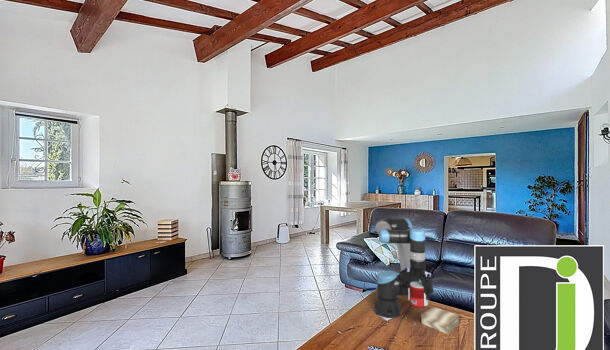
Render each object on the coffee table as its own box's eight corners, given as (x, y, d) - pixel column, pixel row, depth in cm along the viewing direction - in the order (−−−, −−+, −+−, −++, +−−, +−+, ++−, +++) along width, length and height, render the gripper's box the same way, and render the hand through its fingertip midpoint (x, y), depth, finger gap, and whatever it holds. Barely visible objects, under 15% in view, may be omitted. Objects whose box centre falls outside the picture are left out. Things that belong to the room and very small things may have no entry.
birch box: (421, 323, 155) (421, 314, 155) (433, 315, 164) (433, 306, 164) (447, 334, 144) (447, 324, 144) (458, 324, 153) (458, 315, 153)
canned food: (427, 308, 145) (427, 287, 145) (411, 307, 146) (411, 286, 146) (424, 302, 152) (424, 281, 152) (408, 301, 154) (408, 280, 154)
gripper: (396, 256, 155) (396, 298, 155) (434, 265, 139) (434, 311, 139) (403, 253, 159) (403, 294, 160) (440, 262, 144) (441, 307, 144)
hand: (418, 302), depth 149 cm, fingers closed on canned food, 8 cm apart
